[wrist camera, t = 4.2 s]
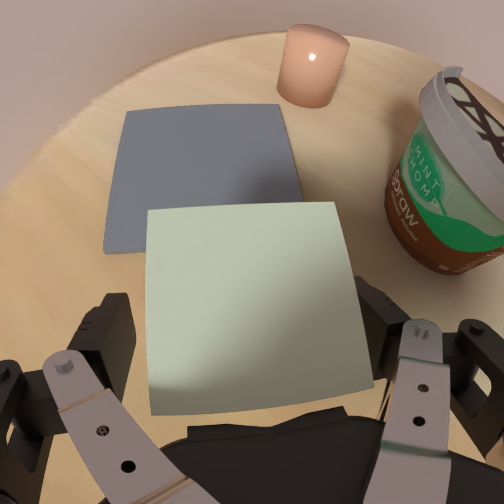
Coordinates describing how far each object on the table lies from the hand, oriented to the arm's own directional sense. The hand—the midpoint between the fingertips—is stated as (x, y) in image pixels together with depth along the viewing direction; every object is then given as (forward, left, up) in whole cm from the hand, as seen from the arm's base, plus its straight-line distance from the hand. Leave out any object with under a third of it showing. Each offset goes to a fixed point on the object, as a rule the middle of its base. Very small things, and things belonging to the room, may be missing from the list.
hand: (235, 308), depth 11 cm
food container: (-13, -6, -5) cm, 15 cm away
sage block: (0, +1, -5) cm, 5 cm away
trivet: (+1, -11, -5) cm, 12 cm away
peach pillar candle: (-8, -20, -5) cm, 22 cm away
